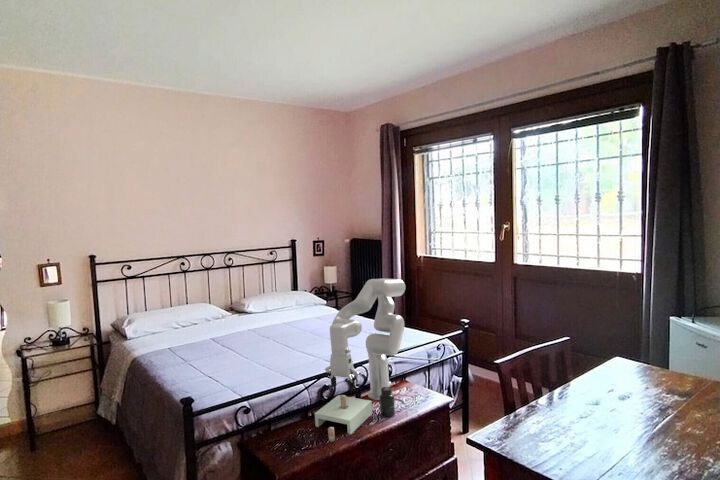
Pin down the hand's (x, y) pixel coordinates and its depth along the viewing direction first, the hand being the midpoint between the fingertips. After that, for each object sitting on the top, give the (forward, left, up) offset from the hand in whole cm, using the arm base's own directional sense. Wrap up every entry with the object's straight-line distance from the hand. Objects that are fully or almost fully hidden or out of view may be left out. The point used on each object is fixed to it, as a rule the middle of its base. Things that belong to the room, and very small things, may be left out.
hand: (343, 388), depth 195 cm
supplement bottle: (-11, +16, -15) cm, 25 cm away
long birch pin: (+1, 0, -15) cm, 15 cm away
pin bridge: (+1, 0, -15) cm, 15 cm away
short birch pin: (+18, +4, -15) cm, 23 cm away
